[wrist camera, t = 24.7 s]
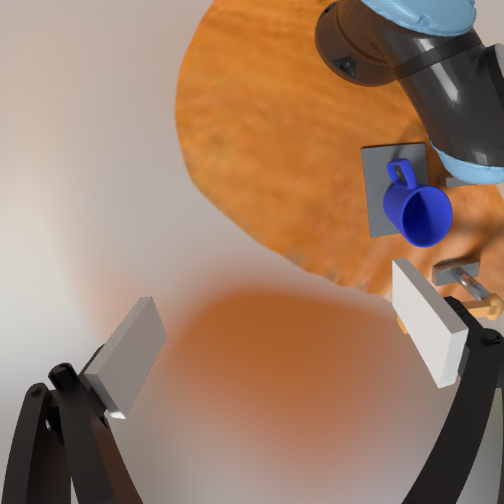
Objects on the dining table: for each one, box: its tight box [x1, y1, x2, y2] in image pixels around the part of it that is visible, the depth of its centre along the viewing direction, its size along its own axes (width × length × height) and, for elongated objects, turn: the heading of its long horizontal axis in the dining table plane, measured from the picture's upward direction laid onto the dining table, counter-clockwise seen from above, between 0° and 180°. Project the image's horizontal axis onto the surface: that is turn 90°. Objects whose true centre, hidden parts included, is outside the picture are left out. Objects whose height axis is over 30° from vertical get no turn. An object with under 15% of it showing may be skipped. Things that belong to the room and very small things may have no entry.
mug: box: [383, 158, 452, 247], centre depth 38 cm, size 8×12×10 cm
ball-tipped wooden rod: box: [397, 293, 504, 333], centre depth 34 cm, size 19×4×3 cm, turn 92°
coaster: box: [361, 144, 429, 238], centre depth 43 cm, size 14×11×1 cm
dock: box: [432, 175, 491, 301], centre depth 38 cm, size 19×10×12 cm, turn 11°
